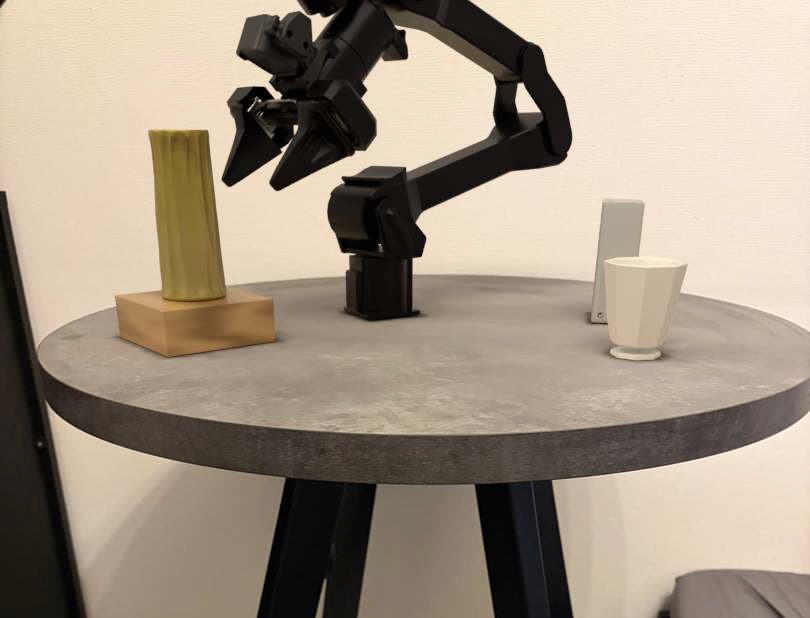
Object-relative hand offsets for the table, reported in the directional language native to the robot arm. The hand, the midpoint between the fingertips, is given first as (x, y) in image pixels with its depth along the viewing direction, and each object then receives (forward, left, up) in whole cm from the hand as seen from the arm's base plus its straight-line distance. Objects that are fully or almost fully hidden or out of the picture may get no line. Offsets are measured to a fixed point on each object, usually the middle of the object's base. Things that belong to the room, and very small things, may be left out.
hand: (248, 185), depth 82 cm
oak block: (+7, +1, -14) cm, 15 cm away
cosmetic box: (-35, +13, -14) cm, 40 cm away
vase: (+6, +1, -10) cm, 12 cm away
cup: (-26, +26, -14) cm, 39 cm away
